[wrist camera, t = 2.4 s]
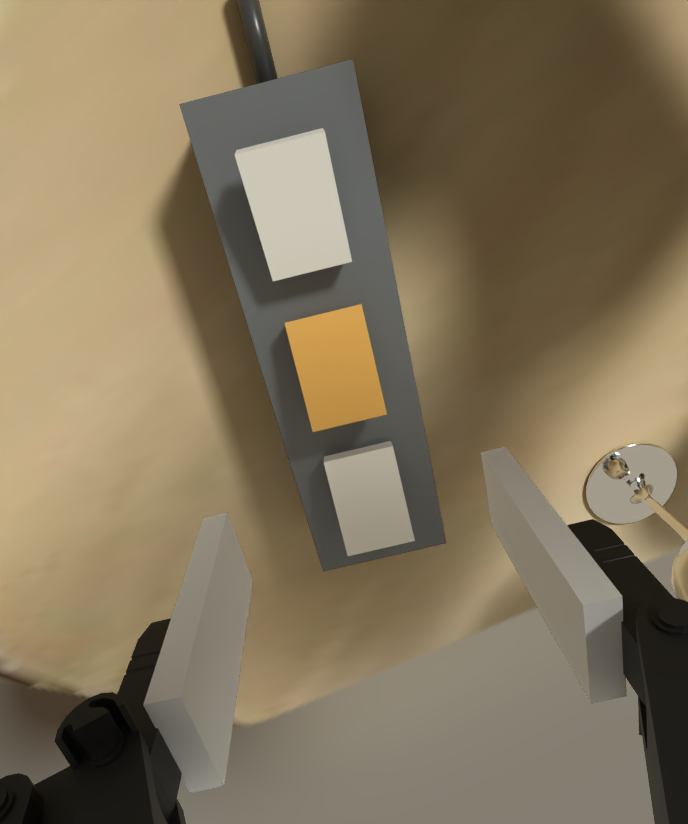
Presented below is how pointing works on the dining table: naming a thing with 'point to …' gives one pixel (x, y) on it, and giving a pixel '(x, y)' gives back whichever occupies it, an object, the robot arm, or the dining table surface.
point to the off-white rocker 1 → (295, 203)
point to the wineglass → (639, 495)
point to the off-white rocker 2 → (369, 498)
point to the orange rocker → (336, 367)
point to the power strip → (316, 281)
